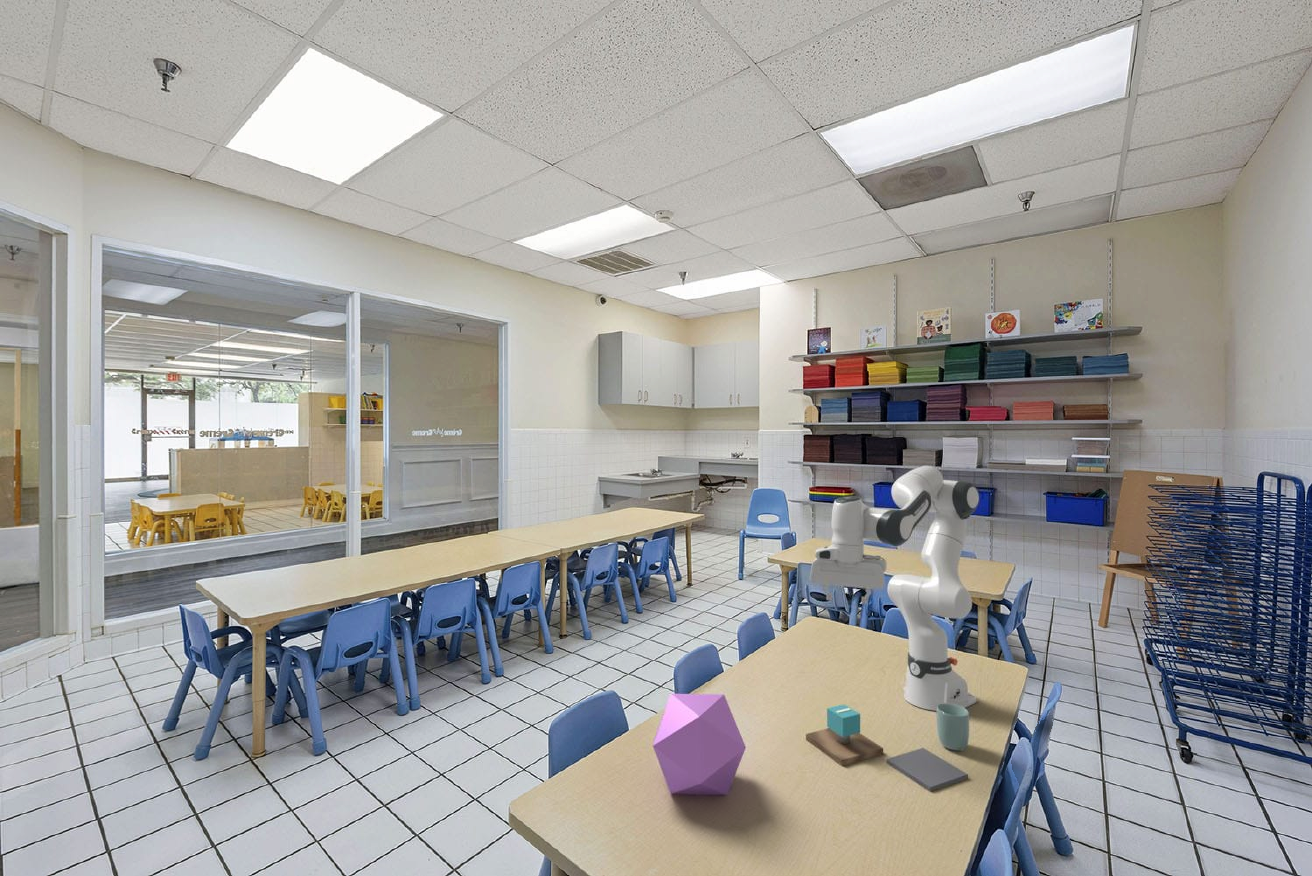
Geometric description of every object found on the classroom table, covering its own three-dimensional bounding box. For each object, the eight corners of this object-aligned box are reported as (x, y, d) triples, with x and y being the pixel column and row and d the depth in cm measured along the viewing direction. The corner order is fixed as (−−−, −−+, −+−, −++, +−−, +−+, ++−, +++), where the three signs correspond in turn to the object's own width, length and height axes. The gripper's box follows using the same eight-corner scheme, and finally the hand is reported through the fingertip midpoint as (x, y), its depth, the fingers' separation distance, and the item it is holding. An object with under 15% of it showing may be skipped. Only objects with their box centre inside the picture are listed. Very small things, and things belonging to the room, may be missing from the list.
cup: (966, 741, 152) (966, 705, 153) (972, 756, 145) (972, 718, 145) (934, 737, 155) (934, 700, 155) (939, 751, 148) (938, 713, 148)
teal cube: (844, 722, 154) (844, 703, 154) (860, 732, 149) (860, 712, 149) (827, 726, 152) (827, 707, 152) (842, 737, 146) (842, 717, 146)
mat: (923, 751, 148) (923, 747, 148) (967, 778, 136) (967, 774, 136) (886, 762, 142) (886, 758, 142) (930, 791, 130) (930, 787, 130)
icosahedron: (655, 721, 150) (654, 669, 135) (734, 722, 149) (741, 670, 135) (653, 815, 132) (651, 768, 117) (743, 817, 131) (752, 770, 117)
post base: (845, 729, 159) (845, 699, 159) (883, 753, 147) (883, 721, 147) (805, 739, 154) (805, 708, 154) (841, 765, 141) (841, 732, 141)
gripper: (886, 554, 158) (885, 603, 158) (812, 548, 166) (811, 595, 165) (886, 558, 152) (886, 609, 152) (809, 551, 160) (809, 600, 159)
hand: (846, 601), depth 159 cm, fingers open, 8 cm apart
